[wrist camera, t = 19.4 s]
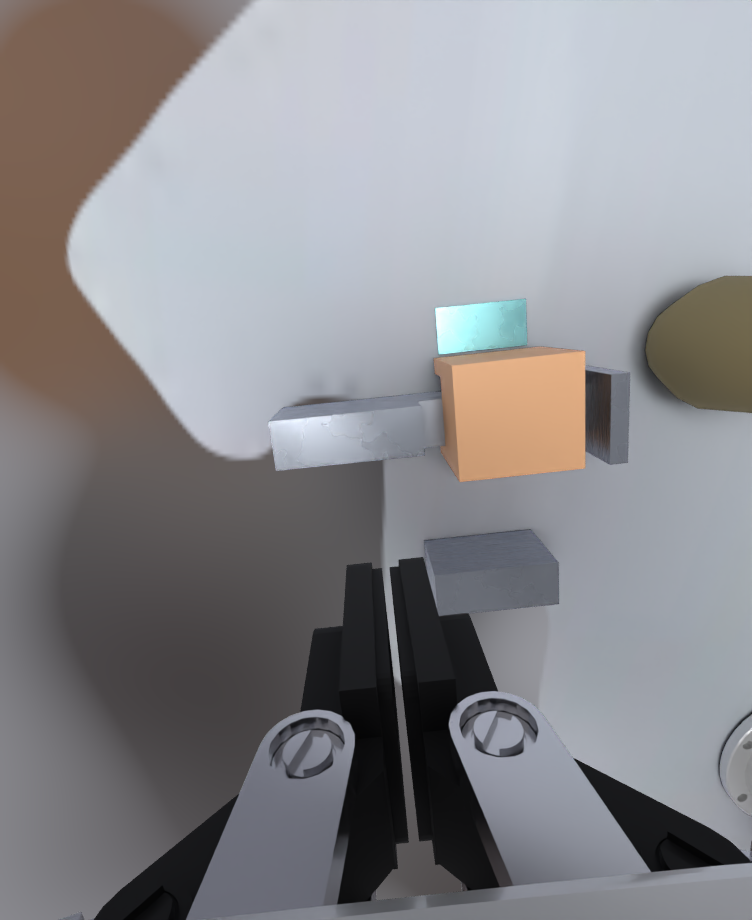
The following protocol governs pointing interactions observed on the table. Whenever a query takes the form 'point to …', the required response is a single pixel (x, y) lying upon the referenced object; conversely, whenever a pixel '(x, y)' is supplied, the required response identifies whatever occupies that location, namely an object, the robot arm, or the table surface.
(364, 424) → the rail
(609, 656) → the table surface
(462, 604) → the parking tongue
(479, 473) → the block
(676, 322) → the squeeze bottle
